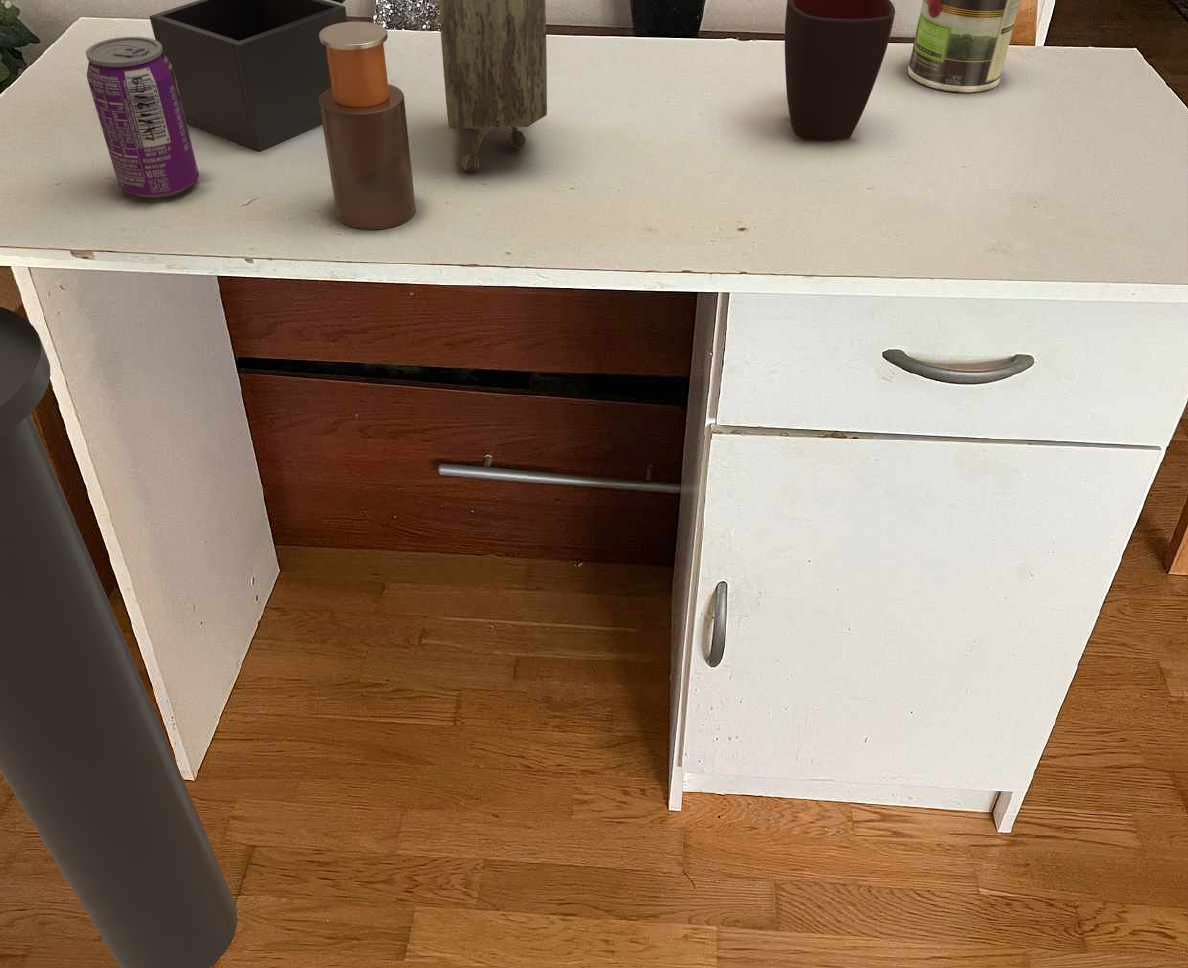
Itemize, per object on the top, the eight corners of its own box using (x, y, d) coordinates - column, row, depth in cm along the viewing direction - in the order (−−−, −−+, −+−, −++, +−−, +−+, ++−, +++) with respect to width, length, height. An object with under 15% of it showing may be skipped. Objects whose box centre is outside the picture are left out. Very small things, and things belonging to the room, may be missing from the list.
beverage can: (214, 173, 104) (182, 38, 96) (178, 207, 100) (142, 68, 91) (144, 166, 105) (106, 31, 97) (106, 199, 101) (63, 60, 92)
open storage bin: (259, 151, 108) (238, 45, 101) (174, 119, 113) (149, 15, 106) (359, 108, 116) (345, 6, 109) (275, 79, 121) (257, -20, 114)
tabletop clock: (450, 119, 114) (428, -172, 96) (539, 117, 115) (533, -173, 97) (452, 182, 104) (427, -131, 86) (549, 179, 105) (544, -132, 87)
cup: (780, 151, 110) (798, 20, 101) (759, 96, 120) (773, -27, 111) (880, 150, 110) (905, 20, 102) (850, 96, 120) (871, -27, 111)
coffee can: (947, 99, 120) (981, -47, 110) (888, 67, 126) (915, -74, 116) (1021, 84, 123) (1060, -60, 113) (959, 53, 129) (991, -85, 119)
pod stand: (377, 237, 96) (361, 120, 89) (320, 214, 99) (300, 99, 92) (432, 208, 100) (421, 94, 93) (375, 186, 103) (360, 74, 96)
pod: (361, 115, 90) (353, 49, 86) (314, 99, 92) (304, 34, 89) (407, 94, 93) (401, 31, 89) (361, 79, 95) (352, 16, 92)
